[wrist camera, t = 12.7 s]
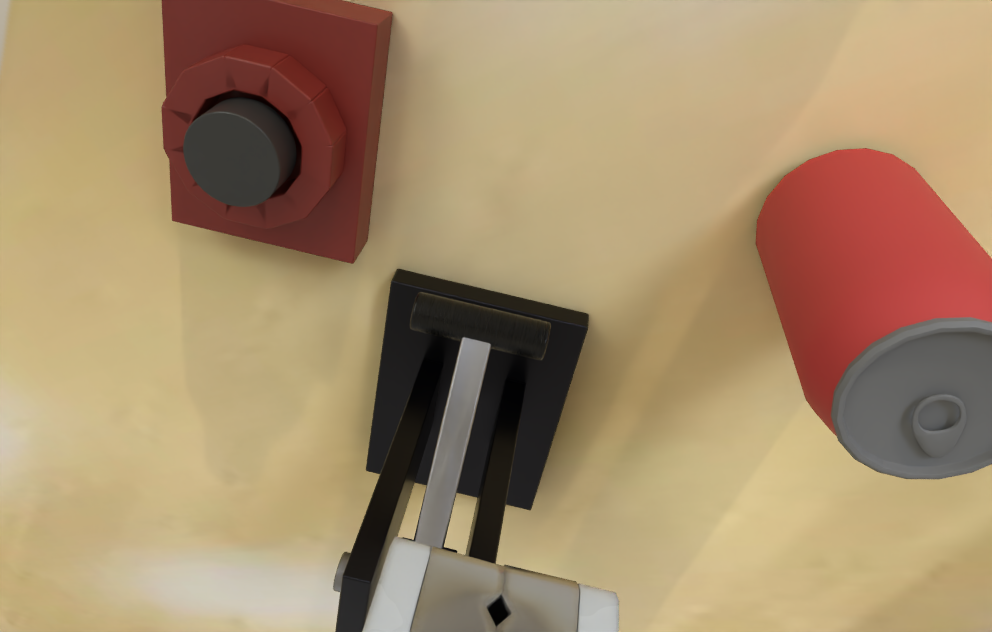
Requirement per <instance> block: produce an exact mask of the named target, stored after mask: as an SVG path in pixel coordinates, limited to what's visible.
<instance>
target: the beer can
mask: <svg viewBox="0 0 992 632" xmlns="http://www.w3.org/2000/svg"><path fill="white" fill-rule="evenodd" d="M756 246H757V249H758V252H759V255H760V258H761V261H762V264H763V267H764V270H765V274H766V277H767V280H768V283H769V286H770V289H771V292H772V295H773V298H774V302H775V305H776V308H777V311H778V314H779V317H780V320H781V323H782V327H783V330H784V333H785V336H786V339H787V342H788V345H789V348H790V351H791V355H792V358H793V361H794V364H795V367H796V370H797V373H798V376H799V379H800V382H801V386H802V389H803V392H804V395H805V398H806V401H807V402H808V403H809V405H810V406H811V407H812V409H813V410H814V411H815V413H816V414H817V415H818V416H819V417H820V418H821V420H822V421H823V422H824V423H825V424H826V425H827V427H828V428H829V429H830V430H831V431H832V432H833V433H834V434H835V435H836V436H837V438H838V441H839V442H840V443H841V444H842V445H843V446H844V448H845V449H846V450H847V451H848V452H849V453H850V455H851V456H852V457H853V458H854V459H855V460H857V461H859V462H861V463H863V464H864V465H866V466H868V467H870V468H871V469H873V470H875V471H877V472H880V473H884V474H888V475H892V476H896V477H900V478H905V479H943V478H947V477H952V476H957V475H962V474H967V473H972V472H974V471H977V470H979V469H981V468H984V467H986V466H988V465H991V464H992V259H991V257H990V256H989V255H988V254H987V253H986V252H985V250H984V249H983V248H982V247H981V246H980V245H979V243H978V242H977V241H976V240H975V239H974V238H973V236H972V235H971V234H970V233H969V232H968V230H967V229H966V228H965V227H964V226H963V225H962V223H961V222H960V221H959V220H958V219H957V218H956V216H955V215H954V214H953V213H952V212H951V211H950V209H949V208H948V207H947V206H946V205H945V204H944V202H943V201H942V200H941V199H940V198H939V197H938V195H937V194H936V193H935V192H934V191H933V189H932V188H931V187H930V186H929V185H928V184H927V182H926V181H925V180H924V179H923V178H922V177H921V175H920V174H919V173H918V172H917V171H916V170H915V168H913V167H911V166H910V165H908V164H907V163H905V162H904V161H902V160H901V159H899V158H898V157H896V156H894V155H892V154H888V153H884V152H880V151H875V150H871V149H867V148H864V149H848V150H836V151H833V152H830V153H827V154H824V155H822V156H819V157H816V158H813V159H810V160H808V161H806V162H805V163H803V164H802V165H800V166H799V167H797V168H796V169H794V170H793V171H792V172H790V173H789V174H787V175H786V176H784V178H783V179H782V180H781V181H780V182H779V184H778V185H777V186H776V187H775V188H774V189H773V191H772V192H771V193H770V194H769V195H768V196H767V198H766V201H765V203H764V205H763V208H762V210H761V212H760V215H759V217H758V219H757V231H756Z"/></svg>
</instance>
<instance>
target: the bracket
mask: <svg viewBox="0 0 992 632" xmlns="http://www.w3.org/2000/svg"><path fill="white" fill-rule="evenodd" d="M419 292H424V293H428V294H432V295H436V296H440V297H445V298H449V299H453V300H457V301H462V302H466V303H470V304H474V305H478V306H483V307H487V308H491V309H495V310H499V311H504V312H508V313H512V314H516V315H520V316H525V317H529V318H533V319H537V320H541V321H546V322H549V323H550V324H551V329H550V335H549V339H548V343H547V347H546V351H545V355H544V358H543V359H542V360H536V359H532V358H528V357H523V356H519V355H515V354H511V353H507V352H502V351H498V350H494V349H490V354H489V358H488V362H487V366H486V370H485V375H484V379H483V383H482V387H481V391H480V396H479V400H478V404H477V408H476V412H475V417H474V421H473V425H472V429H471V433H470V438H469V442H468V446H467V450H466V455H465V459H464V463H463V467H462V471H461V476H460V480H459V484H458V488H457V492H456V493H460V494H465V495H469V496H473V497H477V503H476V508H475V512H474V517H473V522H472V526H471V531H470V536H469V540H468V545H467V550H466V554H465V555H466V556H469V557H473V558H476V559H480V560H484V561H487V562H491V563H494V564H496V558H497V552H498V546H499V540H500V534H501V529H502V523H503V517H504V511H505V505H510V506H514V507H519V508H523V509H527V510H531V508H532V505H533V502H534V499H535V496H536V492H537V489H538V486H539V483H540V480H541V476H542V473H543V470H544V467H545V464H546V460H547V457H548V454H549V451H550V448H551V445H552V441H553V438H554V435H555V432H556V429H557V425H558V422H559V419H560V416H561V413H562V409H563V406H564V403H565V400H566V397H567V394H568V390H569V387H570V384H571V381H572V378H573V374H574V371H575V368H576V365H577V362H578V358H579V355H580V352H581V349H582V346H583V343H584V339H585V336H586V333H587V330H588V321H589V315H588V314H586V313H582V312H578V311H574V310H570V309H565V308H561V307H557V306H553V305H549V304H544V303H540V302H536V301H532V300H528V299H523V298H519V297H515V296H511V295H506V294H502V293H498V292H494V291H490V290H485V289H481V288H477V287H473V286H469V285H464V284H460V283H456V282H452V281H448V280H443V279H439V278H435V277H431V276H427V275H422V274H418V273H414V272H410V271H405V270H401V269H397V271H396V273H395V275H394V277H393V279H392V281H391V286H390V294H389V301H388V309H387V316H386V323H385V331H384V338H383V346H382V353H381V360H380V368H379V375H378V383H377V390H376V398H375V405H374V412H373V420H372V427H371V435H370V442H369V449H368V457H367V464H366V471H369V472H373V473H377V474H380V476H379V479H378V481H377V484H376V487H375V490H374V492H373V495H372V498H371V500H370V503H369V506H368V508H367V511H366V514H365V516H364V519H363V522H362V524H361V527H360V530H359V533H358V535H357V538H356V541H355V543H354V546H353V549H352V551H351V553H348V552H344V553H343V555H342V557H341V559H340V562H339V565H338V568H337V571H336V575H335V579H334V585H333V589H334V591H338V592H340V599H339V607H338V615H337V623H336V631H335V632H362V631H363V628H364V625H365V622H366V619H367V616H368V613H369V610H370V606H371V603H372V600H373V597H374V594H375V591H376V588H377V585H378V582H379V579H380V575H381V572H382V569H383V566H384V563H385V560H386V557H387V554H388V551H389V547H390V545H391V543H392V542H393V540H394V538H395V536H396V537H397V536H398V533H399V530H400V527H401V523H402V520H403V517H404V514H405V511H406V508H407V504H408V501H409V498H410V495H411V492H412V489H413V485H414V482H415V483H419V484H423V485H427V483H428V478H429V474H430V470H431V466H432V461H433V457H434V453H435V449H436V445H437V440H438V436H439V432H440V428H441V424H442V419H443V415H444V411H445V407H446V403H447V398H448V394H449V390H450V386H451V381H452V377H453V373H454V369H455V365H456V360H457V356H458V352H459V348H460V344H461V342H460V341H456V340H452V339H448V338H444V337H439V336H435V335H431V334H427V333H423V332H418V331H414V330H411V329H410V320H411V314H412V310H413V306H414V302H415V299H416V297H417V295H418V293H419Z"/></svg>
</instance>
